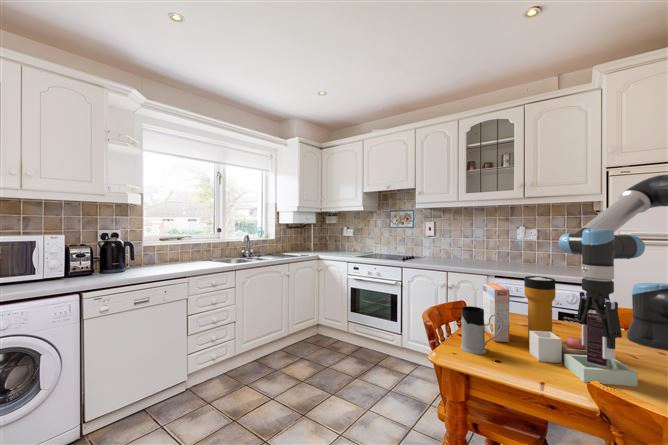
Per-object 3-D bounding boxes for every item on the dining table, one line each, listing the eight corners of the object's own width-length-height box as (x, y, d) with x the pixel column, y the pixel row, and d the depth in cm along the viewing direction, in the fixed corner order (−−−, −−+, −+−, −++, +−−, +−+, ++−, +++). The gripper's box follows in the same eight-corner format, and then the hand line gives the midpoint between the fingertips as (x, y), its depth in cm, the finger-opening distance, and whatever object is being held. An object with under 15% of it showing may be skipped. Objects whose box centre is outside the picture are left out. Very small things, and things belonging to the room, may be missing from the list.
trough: (611, 369, 98) (611, 356, 98) (637, 386, 88) (637, 372, 88) (564, 366, 101) (564, 353, 101) (583, 382, 91) (583, 368, 91)
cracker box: (510, 343, 120) (510, 289, 120) (494, 342, 121) (493, 289, 121) (497, 330, 134) (497, 282, 134) (482, 330, 135) (482, 282, 135)
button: (579, 344, 108) (579, 337, 108) (588, 350, 103) (588, 342, 103) (563, 343, 109) (563, 336, 109) (571, 349, 104) (571, 341, 104)
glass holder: (460, 343, 121) (460, 305, 121) (501, 348, 115) (501, 308, 115) (460, 351, 113) (460, 310, 113) (504, 358, 107) (504, 315, 107)
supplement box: (607, 370, 90) (607, 315, 90) (586, 364, 93) (585, 312, 93) (609, 360, 96) (609, 309, 96) (589, 355, 99) (589, 306, 99)
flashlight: (520, 274, 125) (547, 275, 123) (520, 338, 125) (548, 340, 123) (530, 279, 115) (560, 280, 113) (531, 348, 115) (561, 350, 113)
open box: (551, 354, 110) (550, 331, 110) (561, 362, 103) (561, 339, 103) (529, 352, 111) (529, 330, 111) (538, 361, 104) (538, 337, 104)
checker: (586, 353, 110) (586, 341, 110) (605, 366, 100) (605, 353, 100) (549, 351, 112) (548, 339, 112) (564, 363, 103) (564, 350, 103)
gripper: (564, 272, 106) (564, 337, 106) (608, 285, 84) (608, 367, 84) (588, 273, 105) (588, 339, 105) (640, 286, 83) (640, 369, 83)
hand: (597, 351), depth 95 cm, fingers closed on supplement box, 9 cm apart
